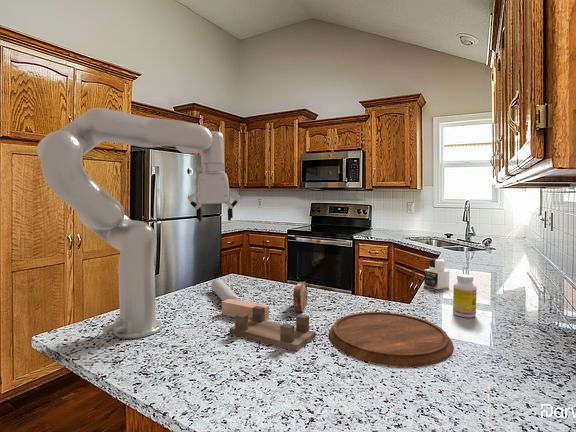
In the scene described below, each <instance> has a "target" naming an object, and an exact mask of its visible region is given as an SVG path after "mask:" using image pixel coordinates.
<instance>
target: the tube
mask: <svg viewBox="0 0 576 432" xmlns="http://www.w3.org/2000/svg"><path fill="white" fill-rule="evenodd" d="M211 282H212V283H211V284H210V285H211V286H210V287H211V290H213V291H214V293H215V294H216V295H217V297H218V298H219V299H220V300H221V302H222V301H225V300H227V299H235V300H239V296H238V295H237V294H236V293H235V292H234V291H233V290H232V289H231V288H230V287H229V286H228V285H227V284H226V283H225V281H223V280H222V279H220V278H217V279H216V278H215V279H214V280H213V281H211Z"/></svg>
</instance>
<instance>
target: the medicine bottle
mask: <svg viewBox="0 0 576 432" xmlns="http://www.w3.org/2000/svg"><path fill="white" fill-rule="evenodd" d="M428 261H429V262H428V263H429V265H428V266H429V267H428V268H427V269H424V271H423V273H424V279H423V280H424V281H423V283H424V287H428V288H431V289H435V290H442V289H448V288H450V270H446V269H445V268H446V267H445V265H446V263H445V262H446V261H445V259H443V258H438V257H436V258H435V257H433V258H430V259H429V260H428Z"/></svg>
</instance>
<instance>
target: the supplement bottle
mask: <svg viewBox="0 0 576 432" xmlns="http://www.w3.org/2000/svg"><path fill="white" fill-rule="evenodd" d="M456 279H457V281H456V282H455V283H453V287H452V288H453V291H452V292H453V293H452V294H453V295H452V296H453V297H452V300H453V301H452V312H453V314H454V315H455V316H457V317H460V318H466V319H467V318H469V319H471V318H474V317H476V315H477V286H476V284H474V283H473V281H474V276H473V275H471V274H465V273H464V274H463V273H458V274H457V276H456Z"/></svg>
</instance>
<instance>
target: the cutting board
mask: <svg viewBox="0 0 576 432" xmlns="http://www.w3.org/2000/svg"><path fill="white" fill-rule="evenodd" d="M328 336H329V337H328V338H329V340H330V342H331V343H332V345H334V346H335V347H336V348H337V349H338V350H339V351H341V352H344V353H345V354H347V355H348V356H350V357H353V358H356V359H359V360H363V361H366V362H369V363H372V364H374V363H375V364H378V365H384V366H390V367H393V366H394V367H409V368H410V367H412V368H413V367H423V366H430V365H434V364H437V363H441V362H443V361H445V360H447V359H448V358H450V357H451V355H453V353H454V347H455V346H454V343H453V341H452V339H451V338H450V336H449V335H448V334H447V332H446V330H444V329H443V328H442V327H440V326H438V325H436V324H434V323H433V322H430V321H428V320H425V319H422V318H420V317H416V316H412V315H407V314H402V313H396V312H384V311H383V312H382V311H366V312H365V311H364V312H357V313H352V314H347V315H344V316H342V317H341V318H338V319H337V320H336V321H335V322H334V324H333V325H332V326H331V328H330V329H329V331H328Z"/></svg>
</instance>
